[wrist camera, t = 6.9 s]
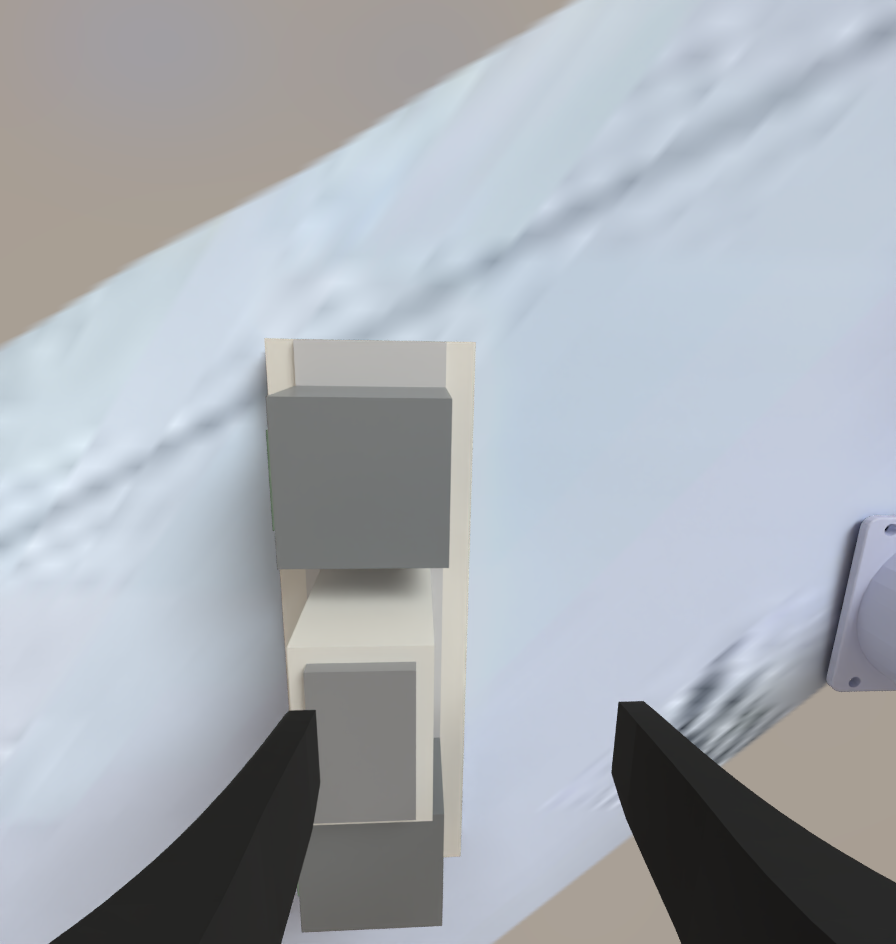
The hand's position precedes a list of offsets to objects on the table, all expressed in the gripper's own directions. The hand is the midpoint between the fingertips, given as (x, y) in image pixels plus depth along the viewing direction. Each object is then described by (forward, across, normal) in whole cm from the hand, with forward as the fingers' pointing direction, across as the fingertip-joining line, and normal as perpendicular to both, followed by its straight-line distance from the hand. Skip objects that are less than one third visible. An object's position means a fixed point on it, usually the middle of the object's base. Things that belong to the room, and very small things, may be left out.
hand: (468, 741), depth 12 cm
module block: (+7, +3, +2) cm, 8 cm away
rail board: (+9, +3, +2) cm, 10 cm away
